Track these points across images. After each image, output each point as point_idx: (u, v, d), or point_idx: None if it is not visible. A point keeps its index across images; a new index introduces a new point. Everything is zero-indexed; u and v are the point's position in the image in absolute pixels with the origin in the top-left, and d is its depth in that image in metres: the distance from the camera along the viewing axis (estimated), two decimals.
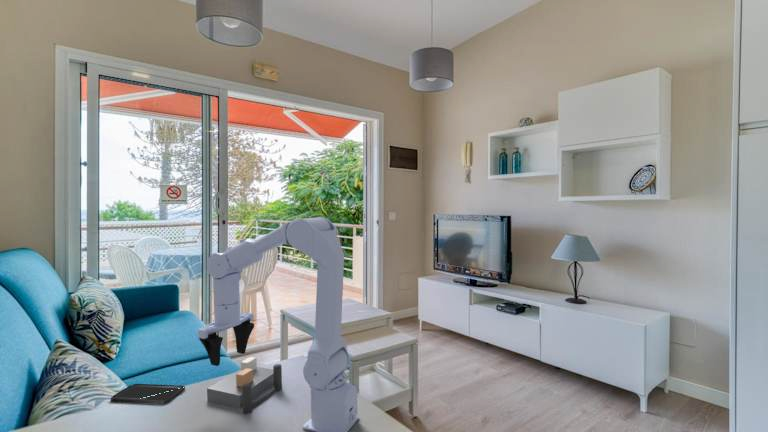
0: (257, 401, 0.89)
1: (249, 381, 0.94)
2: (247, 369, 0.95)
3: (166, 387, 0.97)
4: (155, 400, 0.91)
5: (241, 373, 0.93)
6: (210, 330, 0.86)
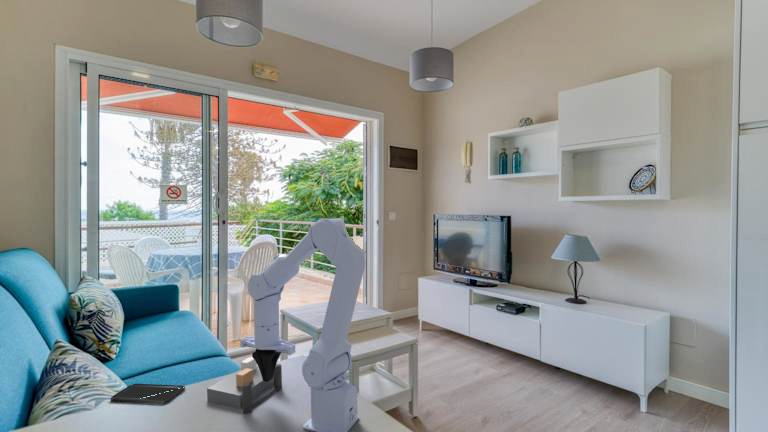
0: (257, 401, 0.89)
1: (249, 381, 0.94)
2: (247, 369, 0.95)
3: (166, 387, 0.97)
4: (155, 400, 0.91)
5: (241, 373, 0.93)
6: (244, 342, 0.92)
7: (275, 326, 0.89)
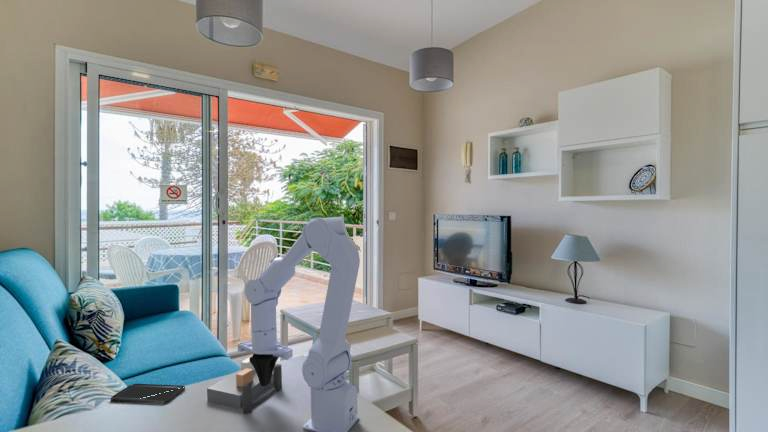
0: (257, 401, 0.89)
1: (249, 381, 0.94)
2: (247, 369, 0.95)
3: (166, 387, 0.97)
4: (155, 400, 0.91)
5: (241, 373, 0.93)
6: (241, 346, 0.92)
7: (272, 331, 0.89)
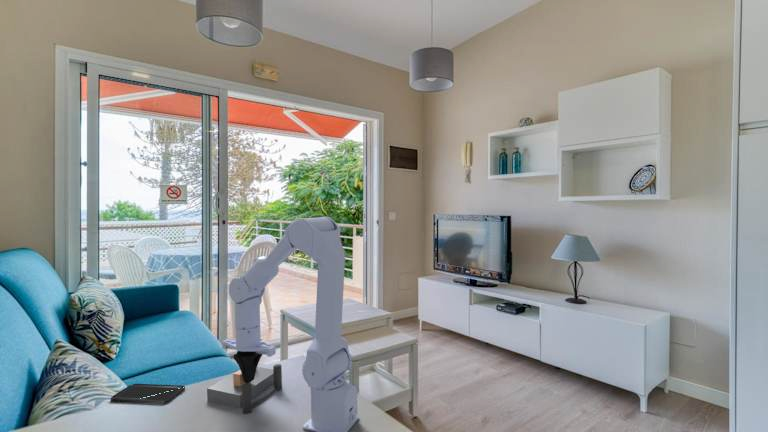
0: (257, 401, 0.89)
1: None
2: None
3: (166, 387, 0.97)
4: (155, 400, 0.91)
5: (238, 372, 0.93)
6: (226, 344, 0.94)
7: (256, 328, 0.91)
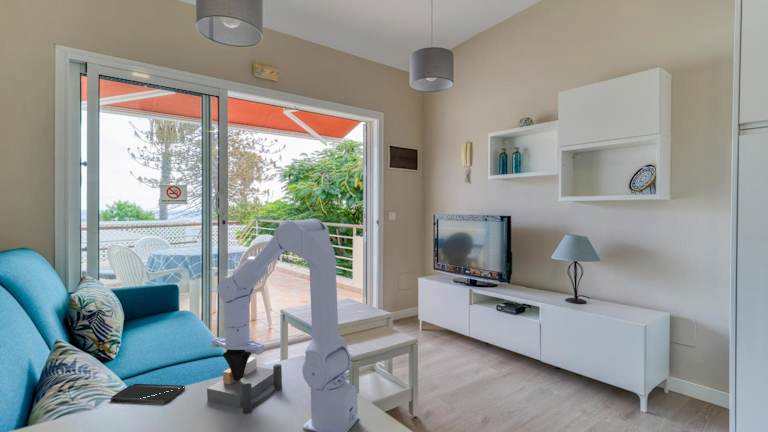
0: (257, 401, 0.89)
1: None
2: None
3: (166, 387, 0.97)
4: (155, 400, 0.91)
5: (228, 370, 0.94)
6: (216, 342, 0.95)
7: (245, 327, 0.92)
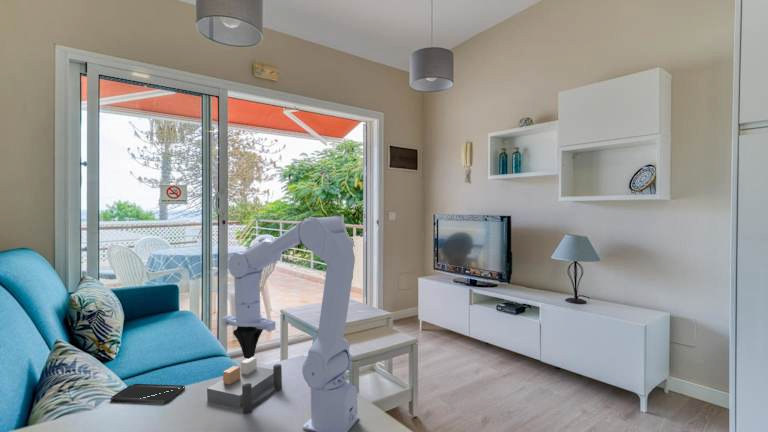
0: (257, 401, 0.89)
1: (236, 378, 0.95)
2: (234, 367, 0.96)
3: (166, 387, 0.97)
4: (155, 400, 0.91)
5: (228, 370, 0.94)
6: (226, 320, 0.94)
7: (255, 304, 0.91)
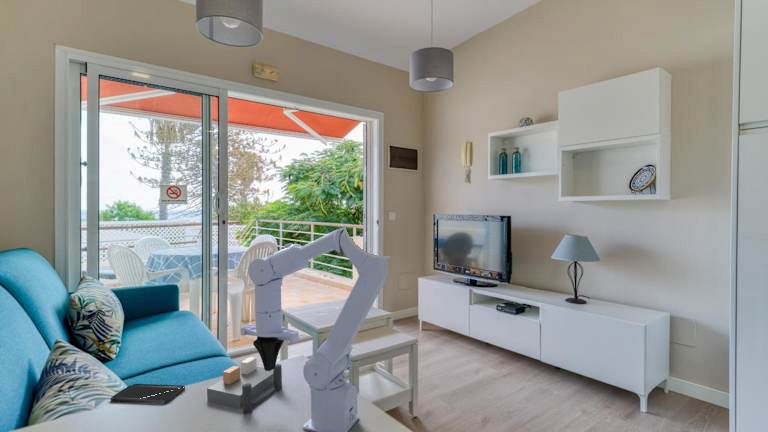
0: (257, 401, 0.89)
1: (236, 378, 0.95)
2: (234, 367, 0.96)
3: (166, 387, 0.97)
4: (155, 400, 0.91)
5: (228, 370, 0.94)
6: (245, 329, 0.88)
7: (277, 312, 0.85)
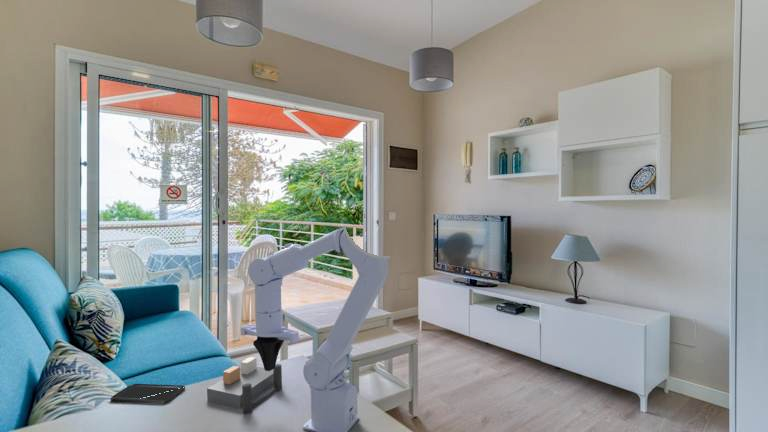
0: (257, 401, 0.89)
1: (236, 378, 0.95)
2: (234, 367, 0.96)
3: (166, 387, 0.97)
4: (155, 400, 0.91)
5: (228, 370, 0.94)
6: (245, 329, 0.88)
7: (277, 312, 0.85)
